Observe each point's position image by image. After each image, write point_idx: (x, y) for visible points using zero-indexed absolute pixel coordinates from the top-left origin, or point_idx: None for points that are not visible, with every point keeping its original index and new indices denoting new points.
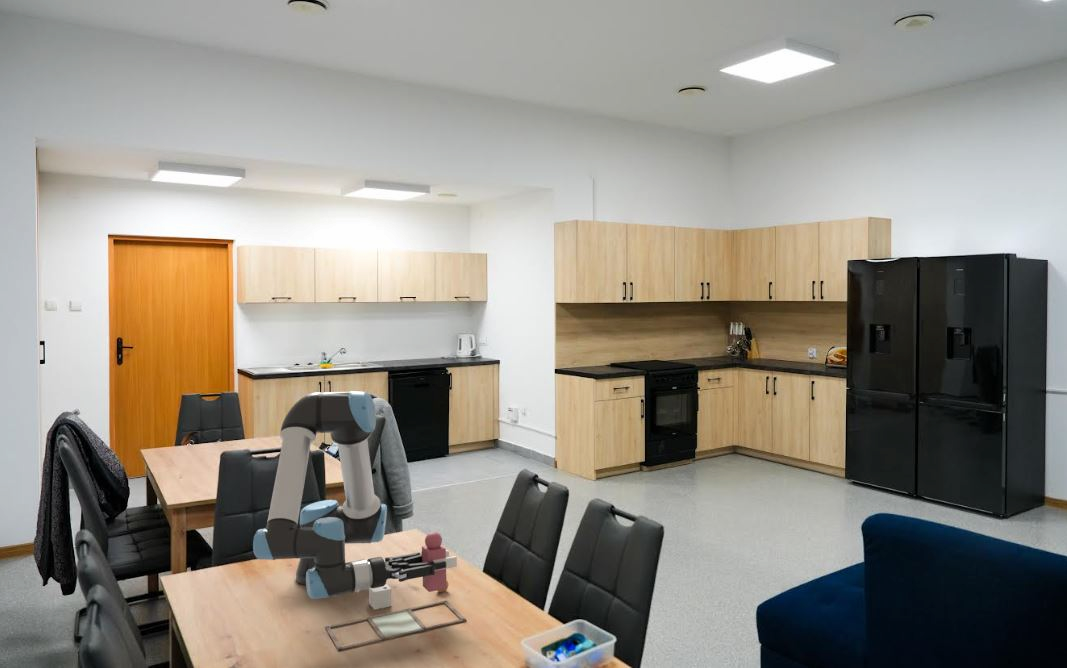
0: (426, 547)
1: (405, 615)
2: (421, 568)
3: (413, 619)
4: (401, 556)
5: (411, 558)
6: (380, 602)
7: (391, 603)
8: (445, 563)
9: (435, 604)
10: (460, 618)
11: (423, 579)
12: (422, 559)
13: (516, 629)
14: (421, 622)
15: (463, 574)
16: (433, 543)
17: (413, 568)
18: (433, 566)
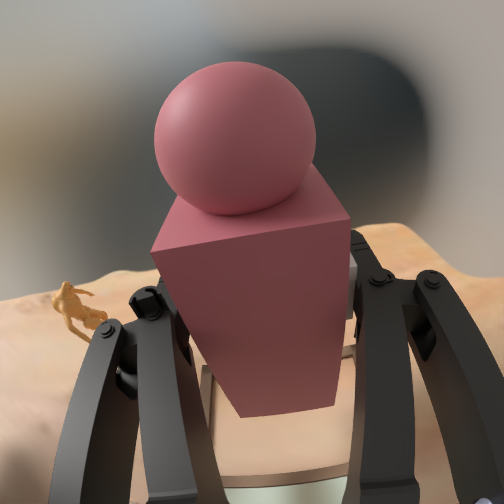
0: (217, 225)
1: (243, 501)
2: (486, 353)
3: (291, 486)
4: (74, 459)
5: (177, 414)
6: None
7: (133, 502)
8: (358, 236)
9: (210, 398)
10: (344, 356)
11: (245, 402)
12: (200, 338)
13: (418, 265)
14: (333, 466)
15: (101, 297)
16: (314, 133)
17: (501, 415)
18: (441, 280)
